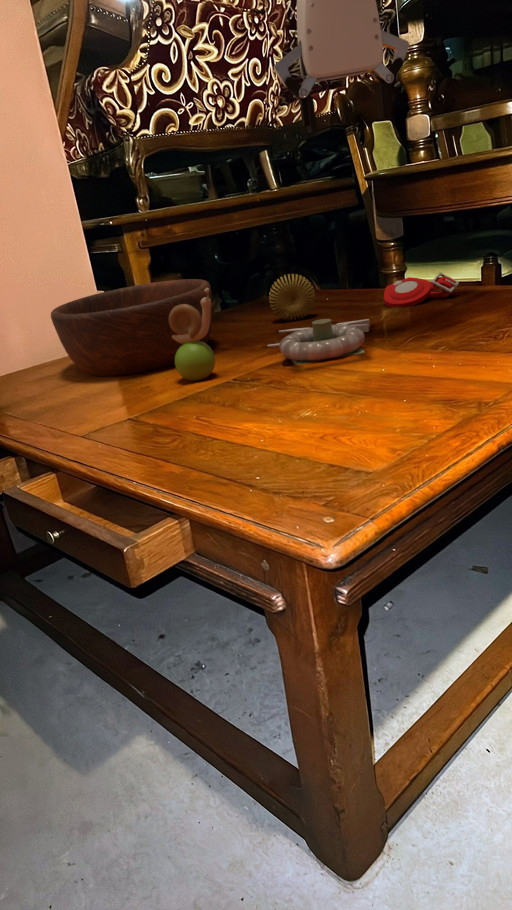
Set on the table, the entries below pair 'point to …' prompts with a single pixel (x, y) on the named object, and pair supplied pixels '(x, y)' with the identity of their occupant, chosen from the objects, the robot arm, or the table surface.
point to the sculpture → (292, 297)
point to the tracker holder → (417, 290)
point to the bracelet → (321, 344)
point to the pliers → (360, 324)
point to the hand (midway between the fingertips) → (348, 125)
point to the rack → (324, 337)
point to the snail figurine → (192, 340)
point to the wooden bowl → (126, 326)
